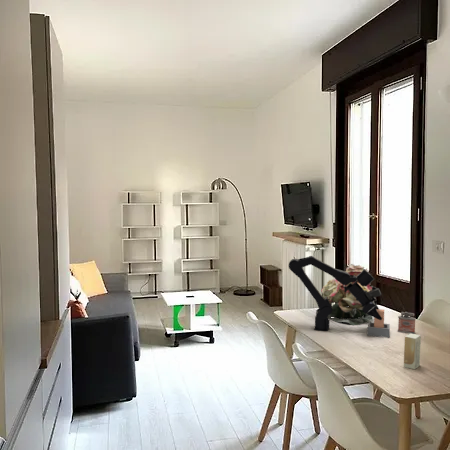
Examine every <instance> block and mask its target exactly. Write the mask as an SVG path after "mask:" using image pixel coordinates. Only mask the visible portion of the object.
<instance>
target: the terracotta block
mask: <svg viewBox="0 0 450 450" xmlns="http://www.w3.org/2000/svg"><path fill="white" fill-rule="evenodd" d="M376 310H377V311H378V313H379V314H380V316H381V317H382V320H379V319H377V318H375V317H373V321H374V322H373V323H374V327H378V328H384V324H385V309H381V308H379V309H376Z"/></svg>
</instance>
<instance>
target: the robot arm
mask: <svg viewBox="0 0 450 450" xmlns="http://www.w3.org/2000/svg"><path fill="white" fill-rule="evenodd" d="M308 266H313V267H315V268H317V269H319V270H320V271H322V272H324V273H326V274H328V275H330V276H332V278H333V279H334V278H335V279H336V280H337V281H339V282H340V283H341V284H343V285H348V284H349V283H350V282H354V283H353V284H352V283H350V284H349V285H348V286H344V292H346V291H347V290H348V291H349V292H350V293H351V294H352V295H353V296H354V297H355V298H356V300H358V301H359V302H360V303H361V305H362V307H363V312H364V313H365V314H368V315H370V316H372V318H374V317H375V318H377V319H379V320H382V317H381V316H380V314H379V313H378V311H377V310H376V309H380V308H379V306H378V304H377V302H378V301H377V300H378V299H377V297H381V296H382V292H381V290H380V288H379V287H376V286H373V287H372V290H371V291H369V292H367V291H366V290H364V289H363V288H362V287H361V286H360V285H359V284H358V283H357V282H359V283H360V284H361V285H362V286H367V285H369V284H371V283H372V282H373V281H374V280H375V278H374V277H373V276H372V274H371V273H370V272H368V270H367V271H366V268H364V270H363V271H362V272H361V273H360V274H359V275H357V276H355V275H350V274H349V273H348V272H345V271H346V270H341V269H337V268H334V267H333V266H331V265H329V264H327V263H326V262H323V261H322V260H319V259H318V258H316V257H315V256H313V255H309V256H307V257H303V258H292V259H291V260H290V261H289V262H288V269H289V271H291V272H292V274H294V275H295V276H296V277H298V278H299V279H300V281H301V283H302V284H303V285H304V287H305V288H306V289H307V291H308V292H309V294H310V295H311V296H312V298H314V300H315V302H316V305H317V307H318V308H317V309H316V310H315V316H314V319H315V320H314V328H313V330H314V331H324V332H328V331H329V329H330V322H331V321H330V320H331V319H330V318H329V317H328V315H330V314H331V313H332V306H333V303H332V302H330V301H329V299H328V297H327V296H326V297H325V298H324V297H323V294H321V291H319V289H318V288H317V287H316V286H315V284H314V282H312V280H311V279H310V277H309V275H307V273H306V272H305V269H304V267H308ZM369 286H370V285H369Z"/></svg>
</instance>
